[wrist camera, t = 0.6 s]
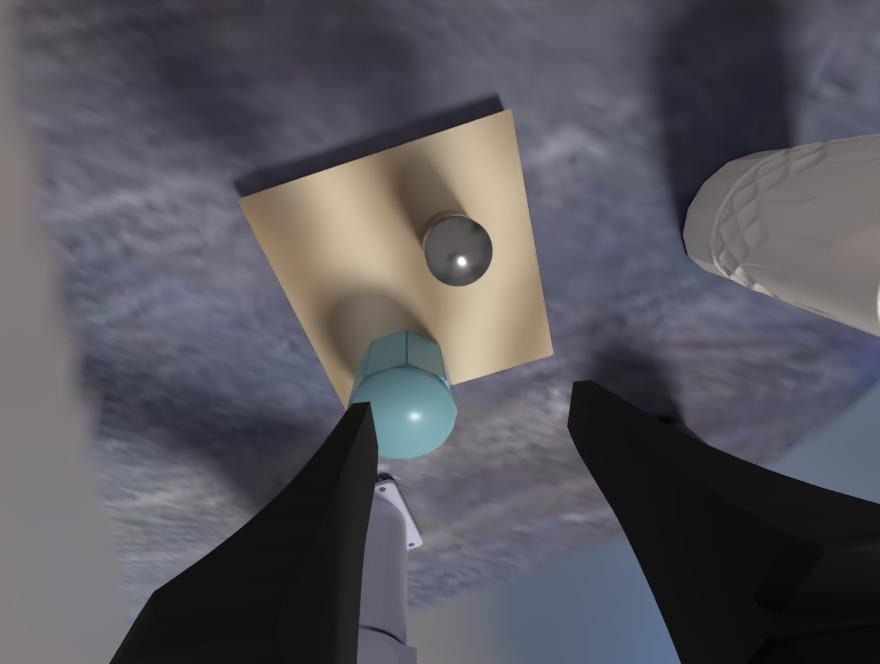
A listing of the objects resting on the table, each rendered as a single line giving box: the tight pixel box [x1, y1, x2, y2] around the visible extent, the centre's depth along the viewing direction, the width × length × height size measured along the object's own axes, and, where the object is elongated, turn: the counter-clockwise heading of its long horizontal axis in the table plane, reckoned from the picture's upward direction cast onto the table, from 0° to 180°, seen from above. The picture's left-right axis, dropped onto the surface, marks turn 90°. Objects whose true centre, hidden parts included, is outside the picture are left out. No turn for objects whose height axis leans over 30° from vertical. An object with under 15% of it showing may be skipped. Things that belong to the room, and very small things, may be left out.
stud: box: [422, 211, 493, 287], centre depth 17 cm, size 3×3×4 cm
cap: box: [347, 330, 458, 459], centre depth 19 cm, size 5×5×5 cm
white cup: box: [683, 133, 880, 337], centre depth 16 cm, size 8×8×10 cm
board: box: [237, 109, 553, 411], centre depth 20 cm, size 14×14×1 cm
